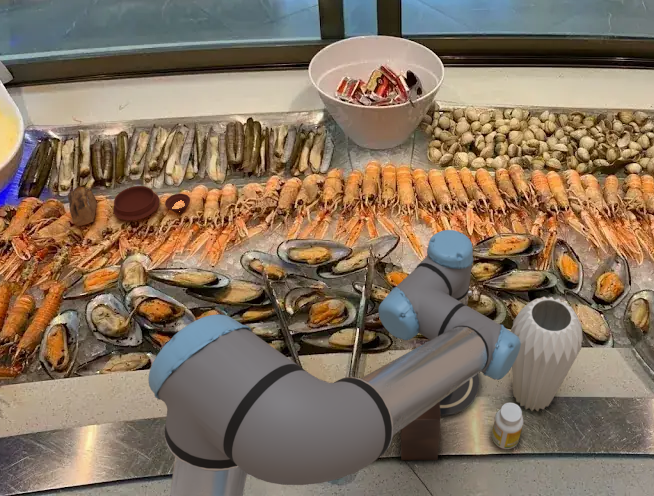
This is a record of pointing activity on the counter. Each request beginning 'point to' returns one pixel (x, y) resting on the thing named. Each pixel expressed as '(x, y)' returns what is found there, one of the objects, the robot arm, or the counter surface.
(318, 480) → the robot arm
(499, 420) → the supplement bottle
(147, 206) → the pottery
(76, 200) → the decorative rock
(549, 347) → the vase
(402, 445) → the stand
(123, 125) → the counter surface
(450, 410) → the round coaster
